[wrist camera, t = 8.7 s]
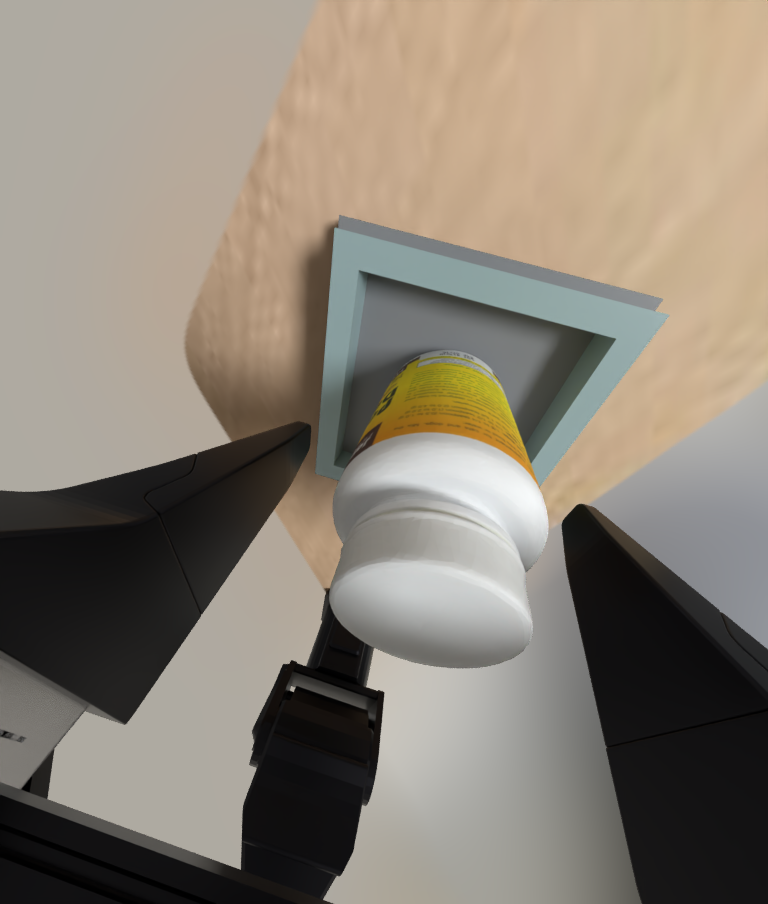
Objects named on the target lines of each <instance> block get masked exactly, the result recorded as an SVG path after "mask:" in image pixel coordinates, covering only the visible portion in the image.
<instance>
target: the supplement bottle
mask: <svg viewBox="0 0 768 904" xmlns="http://www.w3.org/2000/svg"><path fill="white" fill-rule="evenodd" d="M333 518H334V524H335V527H336V530H337V533H338V535H339V537H340V539H341V541H342V543H343V547H342V549H341V558H340V561H339V564H338V566H337V569H336V572H335V575H334V578H333V580H332V583H331V587H330V591H329V602H330V606H331V609H332V611H333V613H334V615H335V616H336V618H337V619H338V620H339V622H340V623H341V624H342V625H343V626H344V627H345V628H346V629H347V630H348V631H349V632H350V633H352V634H353V635H354V636H355V637H357V638H358V639H360V640H361V641H363V642H365V643H366V644H368V645H370V646H372V647H374V648H376V649H378V650H380V651H383V652H385V653H388V654H390V655H392V656H395V657H398V658H401V659H405V660H408V661H411V662H415V663H419V664H424V665H430V666H436V667H447V668H478V667H479V668H480V667H486V666H491V665H495V664H500V663H502V662H504V661H507V660H510V659H512V658H514V657H515V656H517V655H519V654H520V653H521V652H522V651H524V649H525V648H526V646H528V644H529V642H530V640H531V637H532V632H533V625H532V616H531V611H530V607H529V602H528V597H527V591H526V587H525V585H526V574H525V573H526V572H527V571H528V570H529V569H530V568H531V567H532V566H533V565H534V563H535V562H536V561H537V560H538V558H539V557H540V555H541V553H542V551H543V549H544V546H545V543H546V540H547V536H548V516H547V510H546V506H545V503H544V499H543V496H542V493H541V490H540V487H539V484H538V482H537V479H536V477H535V474H534V471H533V468H532V465H531V463H530V460H529V458H528V455H527V452H526V449H525V447H524V444H523V442H522V439H521V436H520V434H519V431H518V428H517V425H516V423H515V420H514V418H513V415H512V412H511V410H510V407H509V404H508V401H507V398H506V395H505V393H504V390H503V388H502V385H501V383H500V381H499V379H498V377H497V376H496V374H495V373H494V371H493V370H492V369H491V368H490V367H489V366H488V365H487V364H485V363H484V362H483V361H482V360H480V359H478V358H477V357H475V356H473V355H470V354H468V353H465V352H461V351H456V350H438V351H432V352H428V353H425V354H422V355H420V356H418V357H416V358H414V359H412V360H410V361H409V362H408V363H406V364H405V365H404V366H403V367H402V368H401V369H400V370H399V371H398V372H397V373H396V374H395V376H394V377H393V379H392V380H391V382H390V384H389V385H388V387H387V389H386V391H385V393H384V395H383V397H382V399H381V400H380V402H379V404H378V406H377V408H376V410H375V412H374V414H373V416H372V418H371V420H370V422H369V424H368V426H367V428H366V429H365V431H364V433H363V435H362V437H361V439H360V441H359V443H358V445H357V446H356V448H355V450H354V452H353V454H352V456H351V458H350V460H349V462H348V464H347V465H346V467H345V469H344V471H343V473H342V475H341V478H340V480H339V482H338V484H337V487H336V490H335V493H334V498H333Z"/></svg>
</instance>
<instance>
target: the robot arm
mask: <svg viewBox="0 0 768 904" xmlns="http://www.w3.org/2000/svg"><path fill="white" fill-rule="evenodd" d="M310 439H311V426H310V424H307V423H304V422H300V421H297V422H294V423H291V424H288V425H285V426H281V427H278V428H275V429H272V430H269V431H266V432H262V433H259V434H256V435H253V436H250V437H247V438H243V439H240V440H237V441H234V442H231V443H228V444H225V445H221V446H218V447H215V448H212V449H209V450H205V451H202V452H199V453H198V454H193V455H190V456H187V457H183V458H180V459H176V460H174V461H170V462H167V463H163V464H160V465H156V466H152V467H148V468H145V469H141V470H137V471H133V472H129V473H125V474H121V475H117V476H113V477H109V478H105V479H101V480H97V481H93V482H89V483H85V484H81V485H77V486H73V487H69V488H64V489H57V490H51V491H40V492H15V491H0V904H333V903H330V902H327V901H324V900H323V898H324V896H325V895H326V893H327V891H328V890H329V888H330V886H331V884H332V883H333V881H334V879H335V878H336V876H341V874H342V873H343V871H344V869H345V867H346V865H347V863H348V861H349V859H350V857H351V855H352V853H353V850H354V844H355V839H356V834H357V828H358V823H359V817H360V813H361V807H362V805H364V806H366V805H367V804H368V802H369V799H370V796H371V793H372V789H373V785H374V781H375V775H376V770H377V763H378V755H379V745H380V744H379V743H380V733H381V723H382V713H383V702H384V692H383V691H380V690H378V691H376V690H373V689H370V688H367V687H366V685H367V680H368V675H369V670H370V665H371V660H372V655H373V650H374V647H372V646H370V645H368V644H366V643H365V642H363V641H361V640H360V639H358V638H357V637H355V636H354V635H353V634H352V633H350V632H349V631H348V630H347V629H346V628H345V627H344V626H343V625H342V624H341V623H340V622H339V620H338V619H337V618H336V616H335V615H334V613H333V611H332V609H331V606H330V602H329V591H330V590H328V591H327V592H326V595H325V601H324V606H323V612H322V618H321V620H322V624H321V627H320V630H319V632H318V635H317V638H316V641H315V643H314V646H313V649H312V652H311V654H310V657H309V660H308V663H307V666H303V665H300V664H297V662H295V661H293V660H291V662H290V664H283V665H282V668H281V670H280V673H279V675H278V677H277V680H276V682H275V684H274V687H273V689H272V691H271V693H270V695H269V697H268V699H267V701H266V703H265V705H264V707H263V709H262V711H261V713H260V715H259V717H258V719H257V721H256V723H255V725H254V728H253V730H252V734H253V739H254V745H253V748H252V751H253V753H252V756H251V760H250V764H249V765H251V766H253V767H256V768H257V769H256V772H255V775H254V778H253V780H252V783H251V786H250V788H249V791H248V793H247V796H246V799H245V802H244V805H243V818H242V819H243V820H242V852H241V854H242V855H241V870H240V869H237V868H234V867H231V866H229V865H226V864H223V863H220V862H218V861H215V860H212V859H209V858H206V857H204V856H201V855H198V854H196V853H193V852H190V851H187V850H185V849H182V848H179V847H176V846H174V845H171V844H168V843H166V842H163V841H160V840H157V839H154V838H152V837H149V836H146V835H144V834H141V833H138V832H135V831H133V830H130V829H127V828H124V827H122V826H119V825H116V824H114V823H111V822H108V821H105V820H103V819H100V818H97V817H94V816H92V815H89V814H86V813H83V812H81V811H78V810H75V809H72V808H70V807H67V806H64V805H62V804H58V803H56V802H53V801H51V800H48V799H47V797H48V791H49V783H50V776H51V769H52V761H53V755H54V748H55V747H56V746H57V744H58V743H59V742H60V741H61V739H62V738H63V737H64V736H65V734H66V733H67V732H68V731H69V730H70V728H71V727H72V726H73V725H74V723H75V722H76V721H77V720H78V719H79V717H80V716H81V715H82V714H83V712H84V711H86V712H89V713H92V714H95V715H98V716H100V717H104V718H106V719H109V720H112V721H115V722H118V723H121V724H124V725H125V724H126V723H127V722H128V721H129V720H130V718H131V717H132V716H133V714H134V713H135V712H136V710H137V708H138V707H139V706H140V704H141V703H142V701H143V700H144V698H145V697H146V695H147V694H148V693H149V691H150V690H151V688H152V687H153V685H154V684H155V682H156V681H157V680H158V678H159V676H160V675H161V674H162V672H163V671H164V669H165V668H166V666H167V665H168V663H169V662H170V661H171V659H172V658H173V656H174V655H175V653H176V652H177V650H178V649H179V648H180V646H181V644H182V643H183V642H184V640H185V639H186V637H187V636H188V634H189V633H190V632H191V630H192V628H193V627H194V626H195V624H196V623H197V621H198V620H199V618H200V617H201V614H203V612H204V611H205V609H206V608H207V606H208V605H209V603H210V602H211V601H212V599H213V598H214V596H215V595H216V593H217V592H218V590H219V589H220V587H221V586H222V585H223V583H224V582H225V580H226V579H227V577H228V576H229V574H230V573H231V572H232V570H233V569H234V567H235V566H236V564H237V563H238V561H239V560H240V558H241V557H242V556H243V554H244V553H245V551H246V550H247V548H248V547H249V545H250V544H251V542H252V541H253V539H254V538H255V537H256V535H257V534H258V532H259V531H260V529H261V528H262V526H263V525H264V523H265V522H266V521H267V519H268V517H269V516H270V515H271V513H272V512H273V510H274V509H275V508H276V506H277V505H278V503H279V502H280V500H281V499H282V497H283V496H284V494H285V493H286V492H287V490H288V488H289V487H290V485H291V483H292V482H293V480H294V478H295V476H296V474H297V472H298V470H299V468H300V466H301V464H302V462H303V460H304V459H305V457H306V455H307V453H308V451H309V448H310ZM562 535H563V544H564V553H565V561H566V569H567V575H568V580H569V584H570V589H571V593H572V598H573V602H574V607H575V611H576V616H577V620H578V624H579V629H580V633H581V638H582V642H583V647H584V651H585V656H586V660H587V664H588V669H589V674H590V678H591V683H592V687H593V691H594V696H595V701H596V705H597V710H598V714H599V719H600V723H601V728H602V732H603V736H604V741H605V745H606V747H607V748H606V751H607V756H608V760H609V765H610V769H611V774H612V778H613V783H614V787H615V792H616V796H617V801H618V805H619V809H620V814H621V819H622V823H623V828H624V832H625V837H626V841H627V846H628V850H629V855H630V859H631V863H632V868H633V873H634V877H635V882H636V886H637V890H638V893H639V896H640V900H641V903H642V904H768V649H767V648H765V647H764V646H763V645H762V644H760V643H759V642H758V641H757V640H755V639H754V638H753V637H752V636H751V635H749V634H748V633H746V632H745V631H744V630H743V629H741V627H739V626H738V625H737V624H736V623H735V622H733V621H732V620H731V619H730V618H728V617H727V616H726V615H725V614H723V613H721V612H720V611H719V609H717V608H716V607H715V606H714V605H713V604H711V603H710V602H709V601H708V600H706V599H705V598H704V597H703V596H701V595H700V594H699V593H698V592H697V591H696V590H694V589H693V588H692V587H691V586H689V585H688V584H687V583H686V582H685V581H683V580H682V579H681V578H680V577H678V576H677V575H676V574H675V573H674V572H672V571H671V570H670V569H669V568H668V567H666V566H665V565H664V564H663V563H661V562H660V561H659V560H658V559H657V558H655V557H654V556H653V555H652V554H651V553H649V552H648V551H647V550H646V549H644V548H643V547H642V546H641V545H640V544H638V543H637V542H636V541H635V540H633V539H632V538H631V537H630V536H629V535H627V534H626V533H625V532H624V531H622V530H621V529H620V528H619V527H618V526H616V525H615V524H614V523H613V522H612V521H610V520H609V519H608V518H607V517H605V516H604V515H603V514H602V513H600V512H599V511H598V510H597V509H596V508H594V507H592V506H588V505H585V504H578V505H576V506H575V507H574V509H573V510H572V511H571V512H570V513H569V514H568V515H567V516H566V517H565V518H564V520H563V522H562ZM291 686H293V687H296V688H295V690H294V692H292V691H289V690H290V688H291Z"/></svg>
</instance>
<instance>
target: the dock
mask: <svg viewBox="0 0 768 904" xmlns="http://www.w3.org/2000/svg"><path fill="white" fill-rule="evenodd" d="M662 300H663V299H662V298H658V297H654V296H650V295H646V294H642V293H638V292H635V291H631V290H627V289H623V288H619V287H615V286H611V285H608V284H604V283H600V282H596V281H592V280H588V279H584V278H581V277H577V276H573V275H569V274H565V273H561V272H557V271H554V270H550V269H546V268H542V267H538V266H534V265H530V264H526V263H523V262H519V261H515V260H511V259H507V258H503V257H499V256H496V255H492V254H488V253H484V252H480V251H476V250H472V249H469V248H465V247H461V246H457V245H453V244H449V243H445V242H442V241H438V240H434V239H430V238H426V237H422V236H418V235H415V234H411V233H407V232H403V231H399V230H395V229H391V228H388V227H384V226H380V225H376V224H372V223H368V222H364V221H361V220H357V219H353V218H349V217H345V216H341V215H339V224H338V228H335V229H334V242H333V254H332V267H331V280H330V292H329V305H328V317H327V330H326V343H325V355H324V368H323V381H322V393H321V406H320V418H319V431H318V444H317V456H316V469H315V474H318V475H321V476H325V477H328V478H331V479H335V480H338V481H339V480H340V478H341V475H342V473H343V471H344V469H345V467H346V465H347V464H348V462H349V460H350V458H351V456H352V454H353V452H354V450H355V448H356V446H357V445H358V443H359V441H360V439H361V437H362V435H363V433H364V431H365V429H366V428H367V426H368V424H369V422H370V420H371V418H372V416H373V414H374V412H375V410H376V408H377V406H378V404H379V402H380V400H381V399H382V397H383V395H384V393H385V391H386V389H387V387H388V385H389V384H390V382H391V380H392V379H393V377H394V376H395V374H396V373H397V372H398V371H399V370H400V369H401V368H402V367H403V366H404V365H405V364H406V363H408V362H409V361H410V360H412V359H414V358H416V357H418V356H420V355H422V354H425V353H428V352H432V351H438V350H456V351H461V352H465V353H468V354H470V355H473V356H475V357H477V358H478V359H480V360H482V361H483V362H484V363H485V364H487V365H488V366H489V367H490V368H491V369H492V370H493V371H494V373H495V374H496V376H497V377H498V379H499V381H500V383H501V385H502V388H503V390H504V393H505V395H506V398H507V401H508V404H509V407H510V410H511V412H512V415H513V418H514V420H515V423H516V425H517V428H518V431H519V434H520V436H521V439H522V442H523V444H524V447H525V449H526V452H527V455H528V458H529V460H530V463H531V465H532V468H533V471H534V474H535V477H536V479H537V482H538V484H539V487H540V486H541V485H542V483H543V482H544V481H545V479H546V478H547V477H548V475H549V474H550V473H551V471H552V470H553V469H554V467H555V466H556V465H557V463H558V462H559V461H560V459H561V458H562V457H563V456H564V454H565V453H566V452H567V450H568V449H569V448H570V446H571V445H572V444H573V442H574V441H575V440H576V438H577V437H578V436H579V434H580V433H581V432H582V430H583V429H584V428H585V426H586V425H587V424H588V422H589V421H590V420H591V418H592V417H593V416H594V415H595V413H596V412H597V411H598V409H599V408H600V407H601V405H602V404H603V403H604V401H605V400H606V399H607V397H608V396H609V395H610V393H611V392H612V391H613V389H614V388H615V387H616V385H617V384H618V383H619V381H620V380H621V379H622V377H623V376H624V375H625V373H626V372H627V371H628V370H629V368H630V367H631V366H632V364H633V363H634V362H635V360H636V359H637V358H638V356H639V355H640V354H641V352H642V351H643V350H644V348H645V347H646V346H647V344H648V343H649V342H650V340H651V339H652V338H653V336H654V335H655V334H656V332H657V331H658V330H659V329H660V327H661V326H662V325H663V323H664V322H665V321H666V319H667V318H668V317H669V315H668V314H664V313H660V312H656V311H655V310H656V309H657V307H658V306H659V304H660V303H661V302H662Z"/></svg>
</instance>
